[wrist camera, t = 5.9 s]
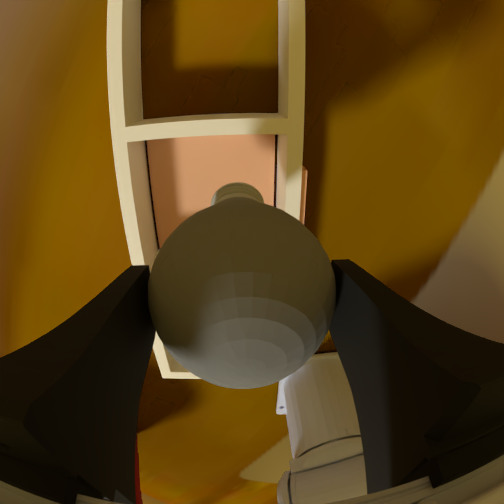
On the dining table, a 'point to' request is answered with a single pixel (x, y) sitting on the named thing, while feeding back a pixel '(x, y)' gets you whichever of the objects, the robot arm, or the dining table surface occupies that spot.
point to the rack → (199, 145)
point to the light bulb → (241, 291)
